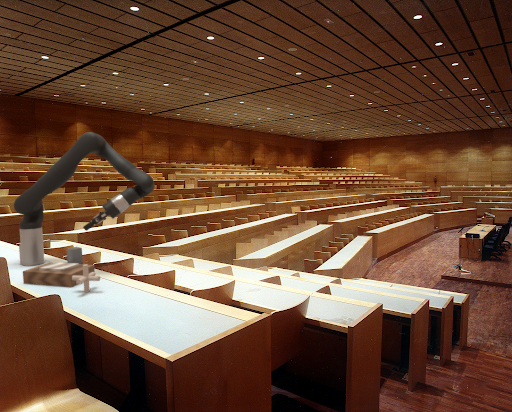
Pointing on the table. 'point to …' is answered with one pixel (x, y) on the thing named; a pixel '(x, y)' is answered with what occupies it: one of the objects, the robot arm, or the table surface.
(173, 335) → the table surface
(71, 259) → the block
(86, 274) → the pipe connector
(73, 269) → the brown wooden block
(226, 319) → the table surface
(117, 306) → the table surface
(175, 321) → the table surface
